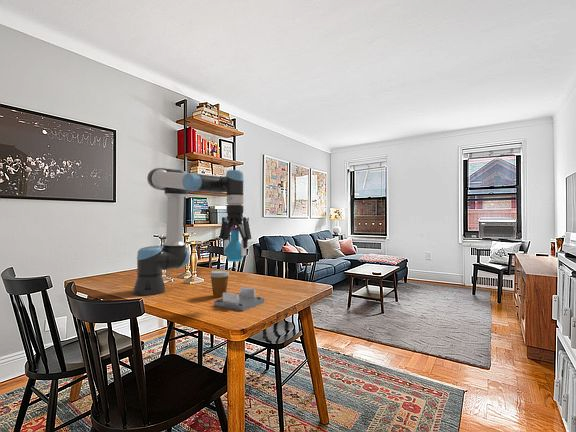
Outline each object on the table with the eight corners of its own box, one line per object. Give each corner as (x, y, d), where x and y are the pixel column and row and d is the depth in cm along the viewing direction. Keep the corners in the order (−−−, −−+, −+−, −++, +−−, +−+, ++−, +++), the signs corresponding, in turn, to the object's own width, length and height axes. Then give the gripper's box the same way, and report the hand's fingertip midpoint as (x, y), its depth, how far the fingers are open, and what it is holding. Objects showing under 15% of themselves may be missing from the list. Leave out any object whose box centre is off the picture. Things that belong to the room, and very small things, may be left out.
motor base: (213, 305, 143) (213, 292, 143) (236, 297, 157) (236, 285, 157) (242, 311, 135) (242, 296, 135) (264, 302, 149) (264, 289, 149)
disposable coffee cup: (224, 298, 155) (225, 273, 155) (206, 297, 157) (206, 272, 157) (232, 294, 164) (232, 270, 164) (214, 292, 166) (214, 269, 166)
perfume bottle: (225, 259, 149) (225, 226, 149) (245, 259, 150) (245, 226, 150) (223, 262, 140) (223, 227, 140) (244, 261, 141) (244, 227, 141)
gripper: (211, 205, 148) (211, 254, 147) (249, 203, 136) (249, 257, 136) (222, 205, 154) (222, 252, 154) (259, 204, 143) (259, 255, 143)
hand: (235, 254), depth 145 cm, fingers closed on perfume bottle, 9 cm apart
